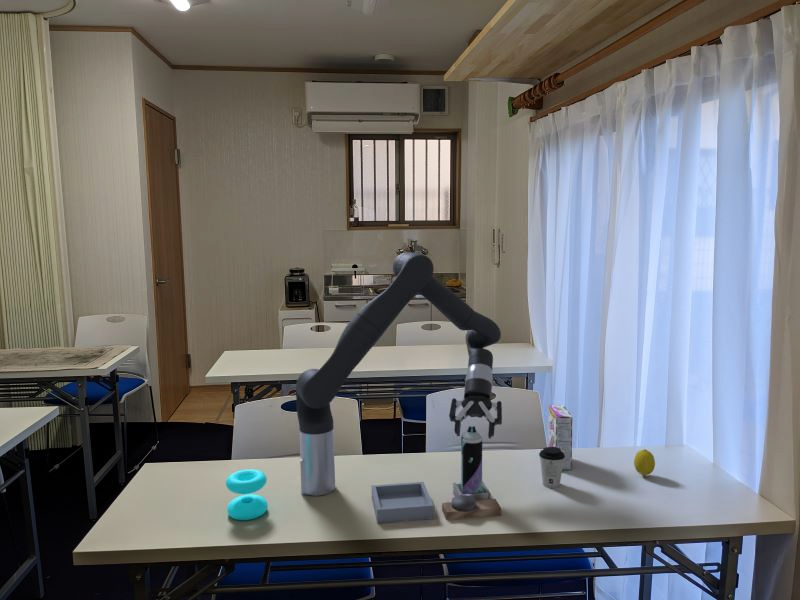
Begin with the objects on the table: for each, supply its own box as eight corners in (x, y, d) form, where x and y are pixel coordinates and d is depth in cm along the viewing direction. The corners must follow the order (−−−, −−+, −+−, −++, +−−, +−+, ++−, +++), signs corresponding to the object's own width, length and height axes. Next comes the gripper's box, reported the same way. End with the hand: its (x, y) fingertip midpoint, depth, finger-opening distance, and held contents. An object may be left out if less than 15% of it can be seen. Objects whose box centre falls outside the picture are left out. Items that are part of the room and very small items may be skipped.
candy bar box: (546, 455, 195) (547, 404, 193) (563, 455, 195) (564, 404, 193) (554, 470, 184) (556, 416, 182) (572, 470, 184) (573, 416, 182)
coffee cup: (554, 492, 170) (555, 457, 168) (533, 484, 175) (533, 449, 174) (569, 484, 174) (570, 450, 173) (548, 477, 180) (548, 443, 178)
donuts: (220, 473, 161) (258, 464, 166) (222, 510, 162) (260, 500, 167) (232, 487, 152) (272, 477, 157) (234, 526, 154) (273, 515, 159)
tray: (377, 523, 154) (377, 509, 154) (371, 497, 168) (371, 485, 167) (433, 518, 156) (433, 505, 155) (423, 494, 170) (423, 481, 169)
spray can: (468, 505, 163) (468, 431, 160) (457, 497, 168) (457, 424, 165) (486, 500, 165) (486, 427, 163) (474, 492, 170) (474, 421, 167)
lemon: (655, 474, 180) (657, 447, 179) (652, 481, 176) (653, 454, 175) (635, 470, 183) (636, 444, 182) (631, 477, 179) (632, 450, 178)
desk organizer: (446, 520, 155) (446, 507, 154) (435, 494, 169) (435, 482, 169) (501, 516, 157) (501, 503, 156) (485, 491, 171) (485, 478, 171)
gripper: (452, 375, 177) (446, 428, 168) (503, 378, 174) (500, 431, 165) (455, 388, 183) (449, 440, 174) (504, 391, 180) (501, 444, 171)
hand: (473, 436), depth 169 cm, fingers open, 8 cm apart
